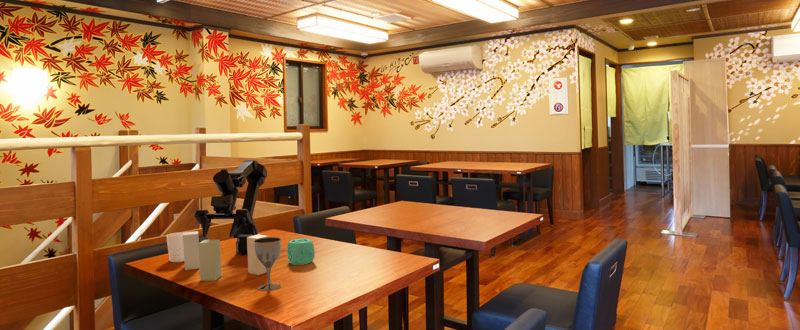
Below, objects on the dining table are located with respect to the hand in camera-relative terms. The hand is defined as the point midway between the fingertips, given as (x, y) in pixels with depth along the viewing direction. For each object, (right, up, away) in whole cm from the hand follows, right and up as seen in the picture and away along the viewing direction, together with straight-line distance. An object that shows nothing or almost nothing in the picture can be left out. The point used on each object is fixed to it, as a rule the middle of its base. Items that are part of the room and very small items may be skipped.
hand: (217, 237), depth 172 cm
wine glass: (+22, -13, -16) cm, 31 cm away
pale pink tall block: (-12, -12, +8) cm, 19 cm away
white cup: (-21, -12, +19) cm, 31 cm away
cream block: (+14, -12, +1) cm, 19 cm away
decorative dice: (+26, -11, +13) cm, 31 cm away
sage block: (0, -13, -5) cm, 14 cm away
